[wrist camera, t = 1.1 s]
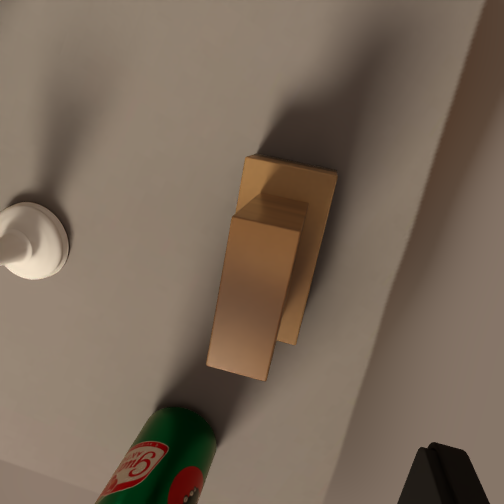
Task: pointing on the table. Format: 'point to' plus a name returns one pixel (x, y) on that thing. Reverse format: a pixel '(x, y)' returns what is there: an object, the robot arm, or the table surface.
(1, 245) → the chess piece
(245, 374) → the wooden inverted t block
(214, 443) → the soda can
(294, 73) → the table surface
